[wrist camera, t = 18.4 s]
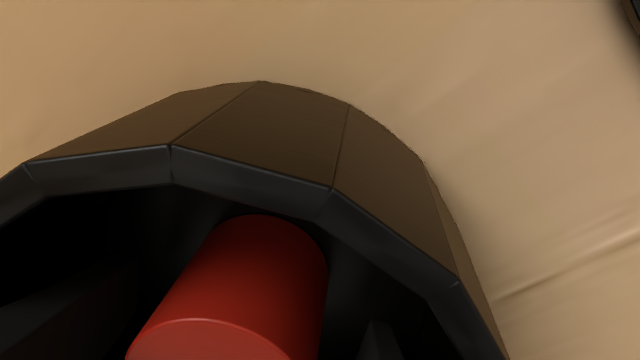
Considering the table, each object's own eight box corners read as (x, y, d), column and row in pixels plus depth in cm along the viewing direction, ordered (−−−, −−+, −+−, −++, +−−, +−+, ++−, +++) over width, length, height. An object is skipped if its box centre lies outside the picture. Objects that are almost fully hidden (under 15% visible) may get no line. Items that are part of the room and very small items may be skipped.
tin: (336, 321, 15) (322, 462, 10) (216, 325, 16) (152, 458, 11) (319, 208, 13) (293, 315, 9) (184, 217, 14) (94, 322, 9)
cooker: (450, 446, 17) (492, 672, 11) (29, 332, 17) (-144, 498, 12) (610, 169, 12) (838, 323, 6) (7, 9, 12) (-328, 11, 6)
